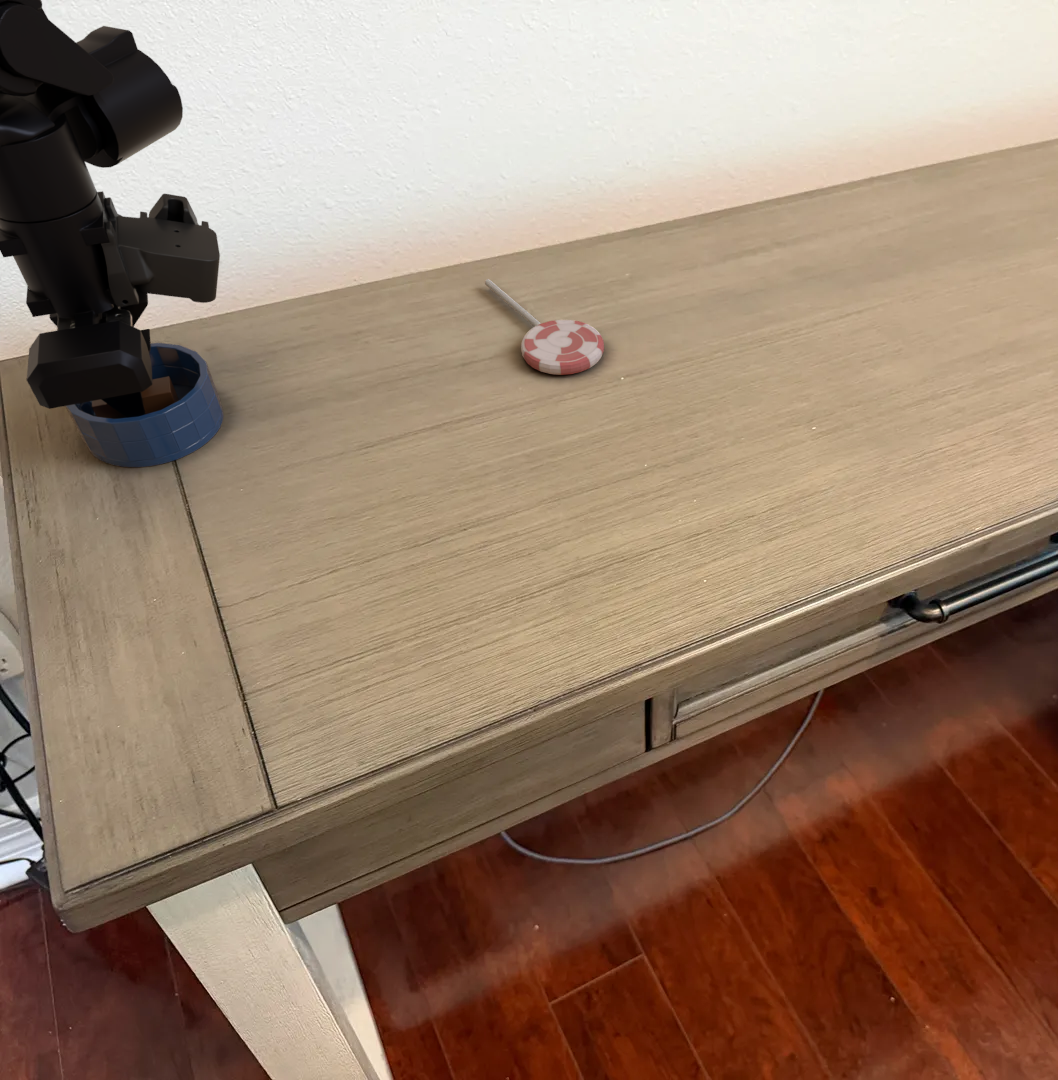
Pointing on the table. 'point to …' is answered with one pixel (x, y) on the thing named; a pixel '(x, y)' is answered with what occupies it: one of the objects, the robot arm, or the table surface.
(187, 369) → the bowl
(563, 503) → the table surface
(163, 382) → the tall brown square pillar
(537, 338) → the lollipop
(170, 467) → the table surface
